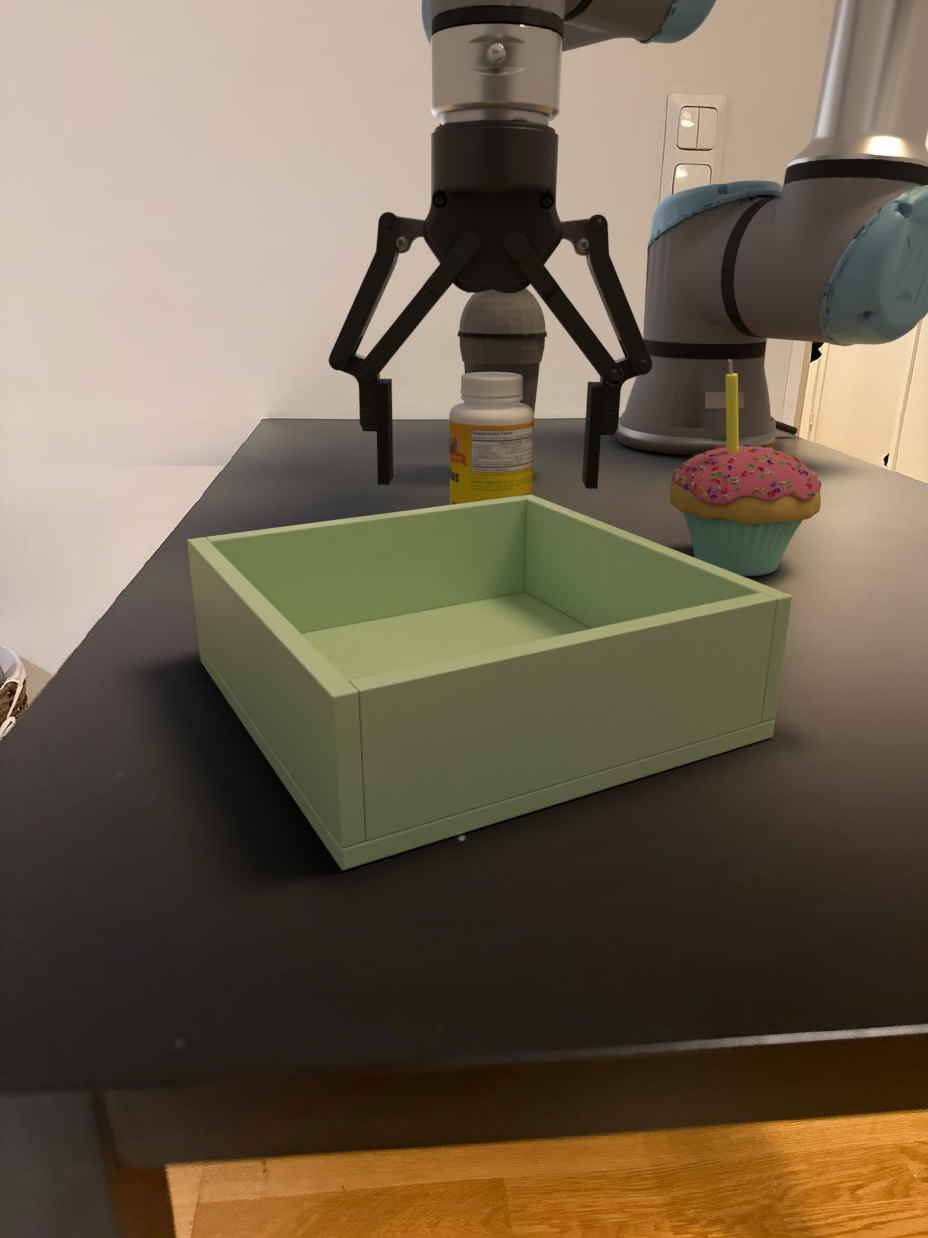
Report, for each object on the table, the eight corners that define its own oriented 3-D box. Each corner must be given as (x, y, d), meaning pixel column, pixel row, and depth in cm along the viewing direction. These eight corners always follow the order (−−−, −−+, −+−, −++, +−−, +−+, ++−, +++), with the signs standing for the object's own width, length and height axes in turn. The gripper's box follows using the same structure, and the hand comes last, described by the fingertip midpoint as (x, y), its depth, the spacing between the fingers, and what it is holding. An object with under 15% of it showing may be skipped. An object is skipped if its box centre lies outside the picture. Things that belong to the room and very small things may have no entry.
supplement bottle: (455, 517, 66) (455, 369, 62) (533, 519, 65) (538, 370, 61) (443, 538, 61) (442, 378, 57) (528, 542, 60) (532, 380, 56)
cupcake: (730, 595, 50) (755, 368, 46) (634, 554, 57) (648, 354, 53) (842, 573, 54) (875, 361, 50) (739, 537, 61) (760, 348, 57)
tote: (528, 599, 50) (531, 493, 48) (773, 737, 35) (793, 595, 33) (200, 662, 42) (186, 539, 40) (341, 872, 27) (332, 696, 25)
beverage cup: (537, 487, 74) (545, 217, 67) (449, 483, 76) (447, 218, 69) (548, 469, 81) (556, 221, 74) (466, 465, 82) (466, 222, 75)
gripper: (268, 112, 51) (289, 491, 58) (724, 116, 50) (686, 498, 58) (295, 131, 58) (311, 468, 65) (695, 135, 57) (665, 474, 65)
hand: (487, 483), depth 62 cm, fingers open, 13 cm apart
